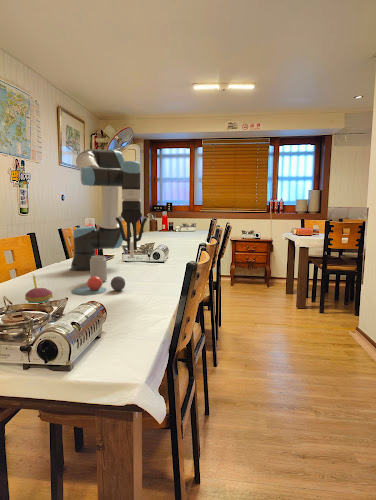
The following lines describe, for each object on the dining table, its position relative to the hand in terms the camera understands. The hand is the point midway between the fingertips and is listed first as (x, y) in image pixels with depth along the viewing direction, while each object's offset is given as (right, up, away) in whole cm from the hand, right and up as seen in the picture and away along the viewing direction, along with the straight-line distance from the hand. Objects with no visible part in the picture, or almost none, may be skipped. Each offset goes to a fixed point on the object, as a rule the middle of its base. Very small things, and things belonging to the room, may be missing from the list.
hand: (132, 257), depth 138 cm
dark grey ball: (-6, -11, +1) cm, 12 cm away
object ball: (-16, -11, +1) cm, 19 cm away
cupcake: (-28, -17, -23) cm, 40 cm away
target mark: (-18, -14, 0) cm, 23 cm away
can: (-19, -12, +17) cm, 28 cm away
